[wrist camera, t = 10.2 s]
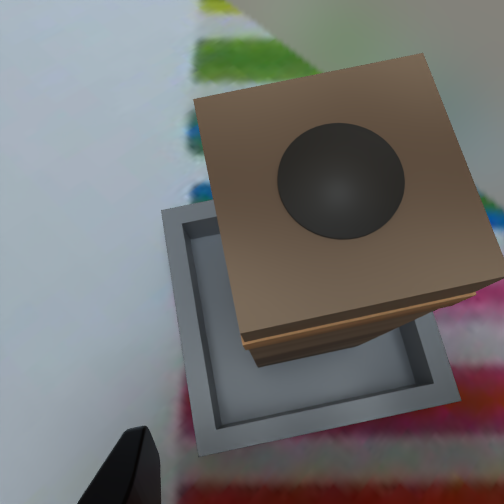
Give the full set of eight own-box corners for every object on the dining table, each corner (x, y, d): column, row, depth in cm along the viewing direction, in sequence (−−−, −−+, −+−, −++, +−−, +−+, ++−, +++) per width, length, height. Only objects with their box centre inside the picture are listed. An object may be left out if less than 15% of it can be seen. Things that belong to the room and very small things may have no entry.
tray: (433, 398, 20) (461, 400, 17) (208, 446, 19) (198, 457, 17) (370, 193, 23) (385, 165, 20) (174, 232, 22) (161, 210, 20)
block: (359, 347, 20) (518, 276, 7) (257, 369, 20) (237, 336, 7) (332, 249, 21) (426, 46, 8) (236, 270, 21) (189, 93, 8)
